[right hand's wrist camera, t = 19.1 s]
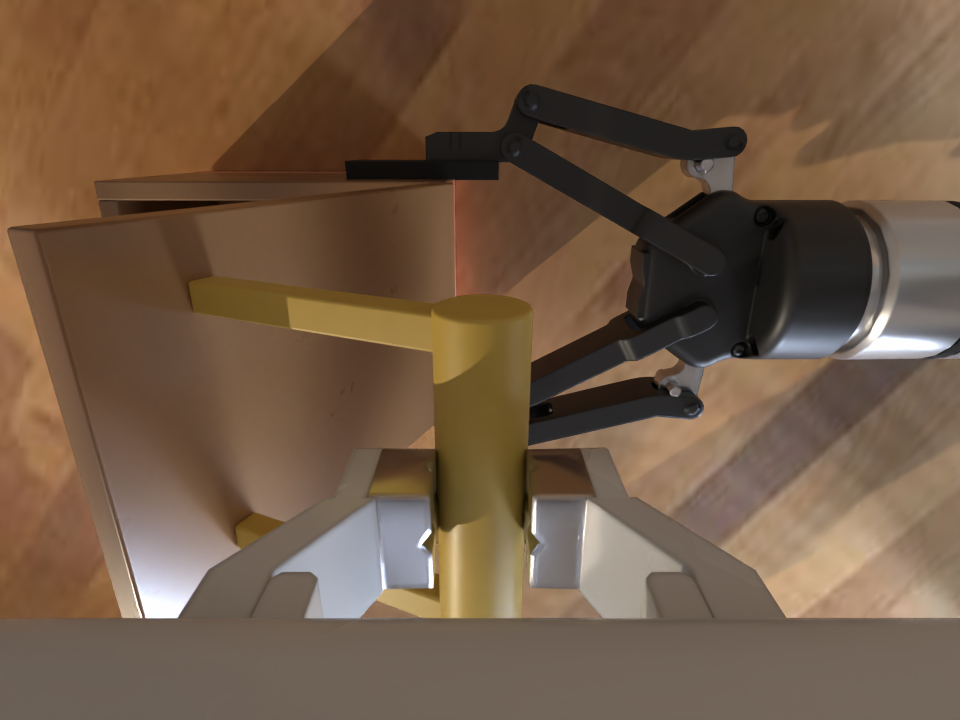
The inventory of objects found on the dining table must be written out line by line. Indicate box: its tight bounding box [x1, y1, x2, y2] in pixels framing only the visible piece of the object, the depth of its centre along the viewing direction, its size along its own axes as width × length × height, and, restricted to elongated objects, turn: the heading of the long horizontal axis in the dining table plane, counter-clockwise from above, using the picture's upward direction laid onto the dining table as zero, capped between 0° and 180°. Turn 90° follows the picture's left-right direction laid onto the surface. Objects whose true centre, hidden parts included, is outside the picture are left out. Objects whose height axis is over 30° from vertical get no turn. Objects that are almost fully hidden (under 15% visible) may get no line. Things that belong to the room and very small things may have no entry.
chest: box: [94, 171, 456, 297], centre depth 28 cm, size 14×10×10 cm
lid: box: [7, 182, 533, 618], centre depth 15 cm, size 15×10×8 cm
